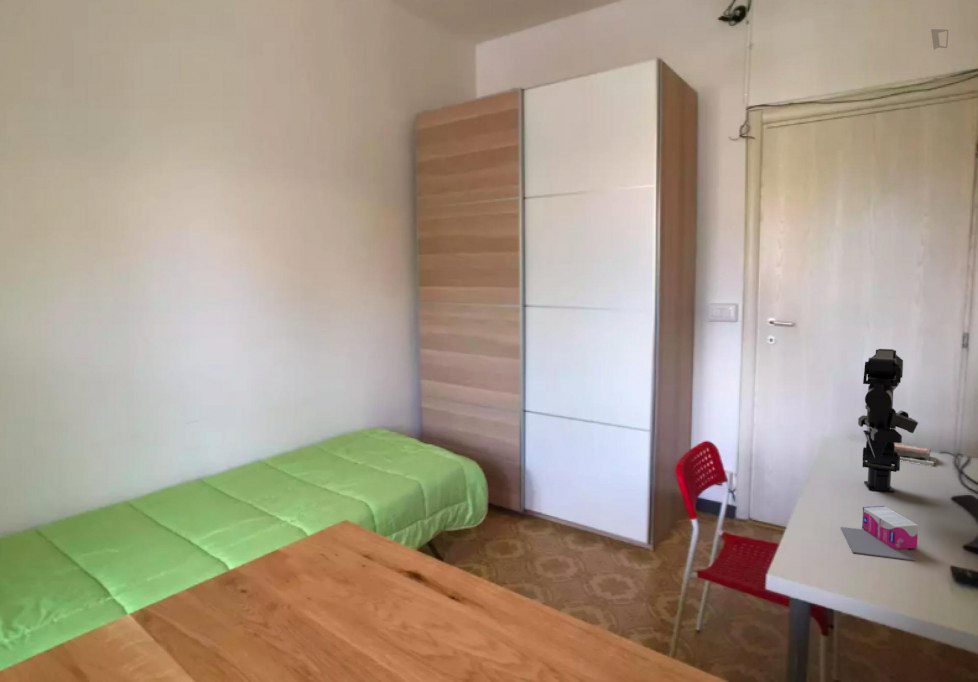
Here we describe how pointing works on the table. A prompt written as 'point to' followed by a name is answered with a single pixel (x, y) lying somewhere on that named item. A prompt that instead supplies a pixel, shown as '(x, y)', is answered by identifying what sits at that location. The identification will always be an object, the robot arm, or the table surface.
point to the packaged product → (915, 454)
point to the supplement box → (890, 527)
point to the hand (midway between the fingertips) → (877, 458)
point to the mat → (872, 545)
